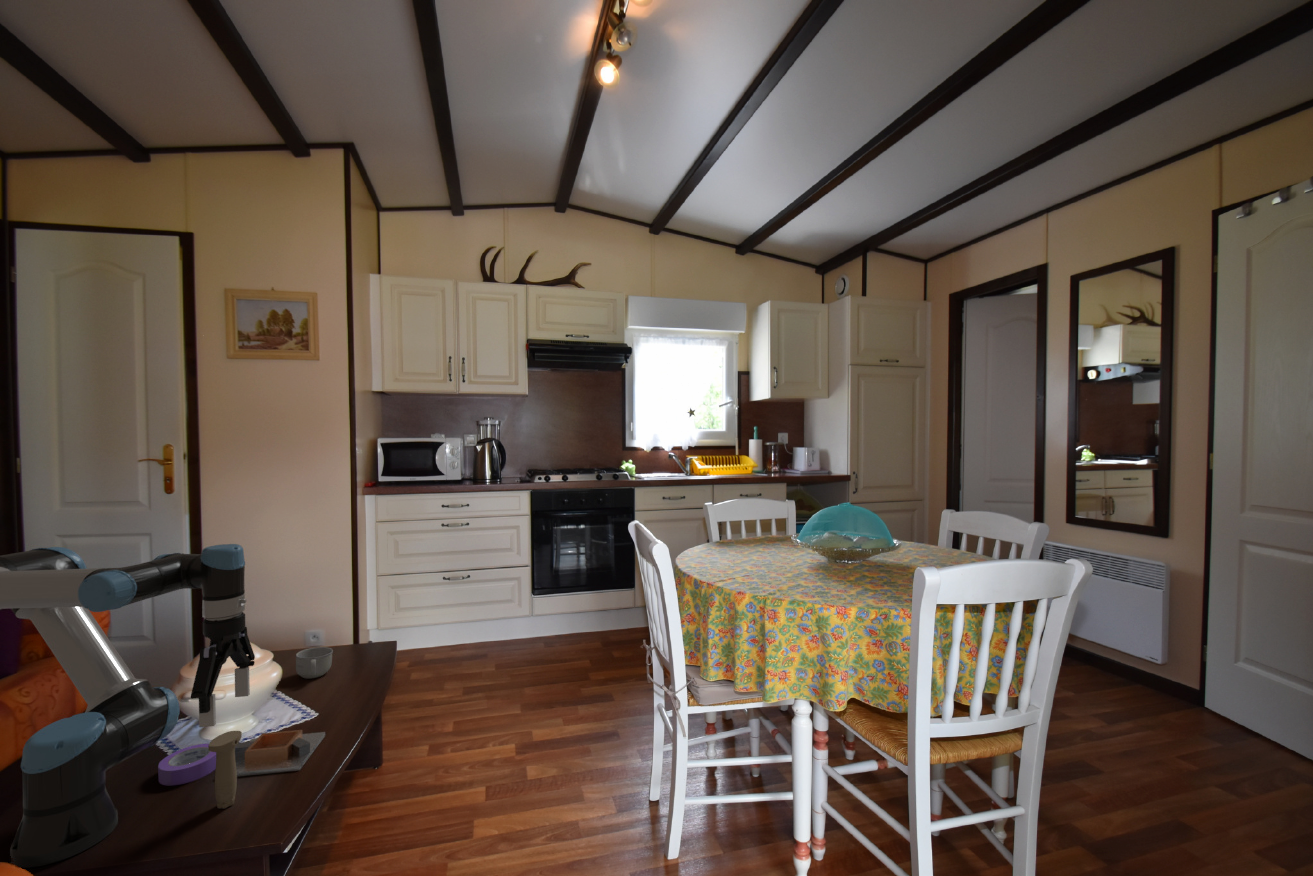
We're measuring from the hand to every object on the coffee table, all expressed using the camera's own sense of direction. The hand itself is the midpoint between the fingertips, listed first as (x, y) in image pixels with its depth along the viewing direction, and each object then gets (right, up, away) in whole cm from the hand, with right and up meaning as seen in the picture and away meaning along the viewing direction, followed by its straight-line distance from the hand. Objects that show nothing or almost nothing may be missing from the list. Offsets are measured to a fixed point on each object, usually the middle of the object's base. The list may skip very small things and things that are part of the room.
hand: (225, 710), depth 125 cm
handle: (0, -22, 0) cm, 22 cm away
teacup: (-21, -21, +66) cm, 72 cm away
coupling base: (-2, -21, +19) cm, 29 cm away
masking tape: (-19, -22, +13) cm, 32 cm away
